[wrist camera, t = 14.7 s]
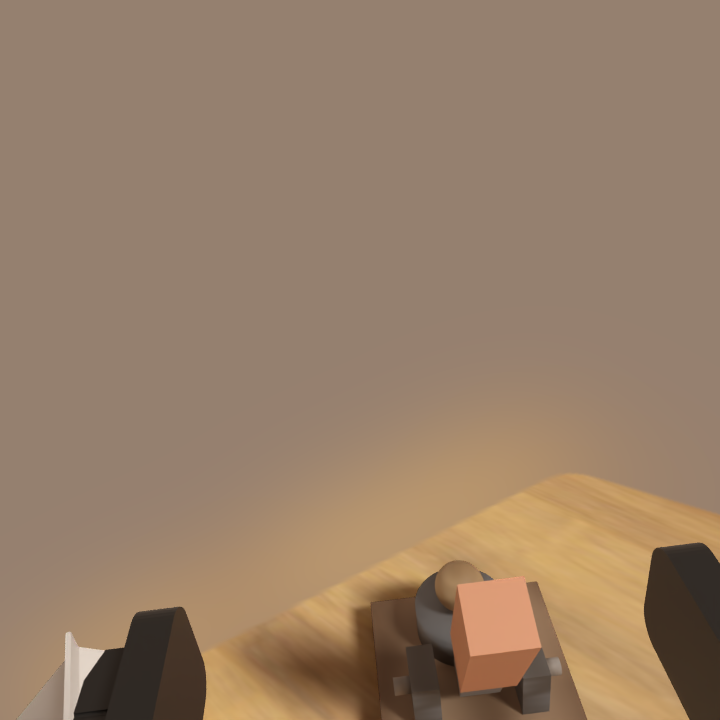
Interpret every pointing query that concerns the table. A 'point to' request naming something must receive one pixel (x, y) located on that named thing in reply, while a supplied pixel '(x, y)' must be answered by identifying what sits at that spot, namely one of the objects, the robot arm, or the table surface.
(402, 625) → the base
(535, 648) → the lever
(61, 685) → the milk carton
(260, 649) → the table surface
